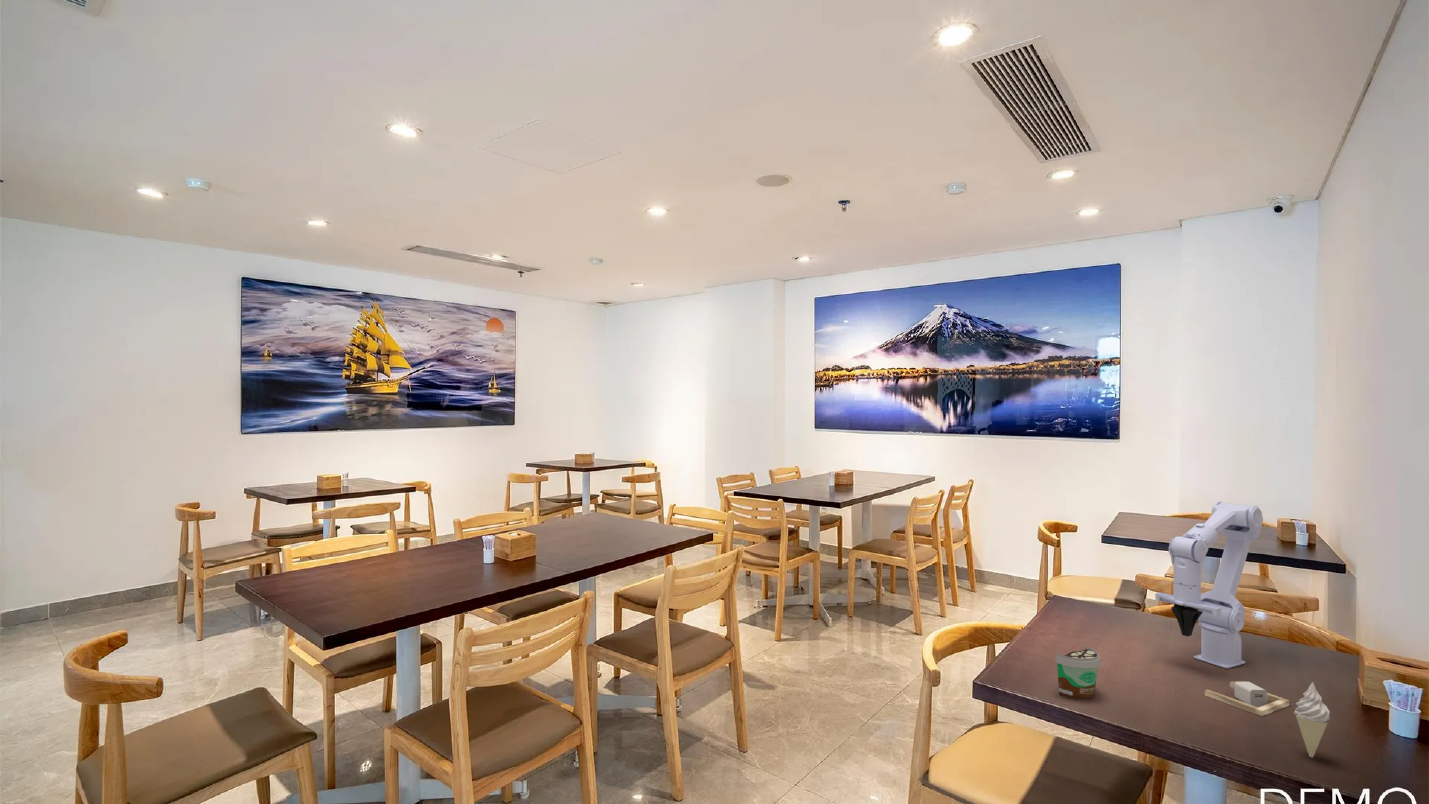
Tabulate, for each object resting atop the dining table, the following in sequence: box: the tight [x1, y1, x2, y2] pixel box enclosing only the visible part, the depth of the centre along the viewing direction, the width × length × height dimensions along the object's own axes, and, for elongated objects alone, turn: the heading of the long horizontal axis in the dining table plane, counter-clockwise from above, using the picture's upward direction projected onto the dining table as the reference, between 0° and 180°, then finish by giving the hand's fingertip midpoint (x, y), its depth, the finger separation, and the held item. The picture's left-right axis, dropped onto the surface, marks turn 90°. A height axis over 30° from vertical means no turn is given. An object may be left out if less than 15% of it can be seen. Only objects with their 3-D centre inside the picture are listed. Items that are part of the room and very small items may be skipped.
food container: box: [1055, 645, 1102, 701], centre depth 149 cm, size 12×6×10 cm, turn 117°
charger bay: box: [1204, 681, 1291, 717], centre depth 147 cm, size 12×11×1 cm
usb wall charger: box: [1229, 681, 1268, 708], centre depth 148 cm, size 4×7×4 cm, turn 0°
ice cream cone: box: [1293, 681, 1331, 759], centre depth 123 cm, size 5×5×15 cm
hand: (1186, 635), depth 164 cm, fingers closed
